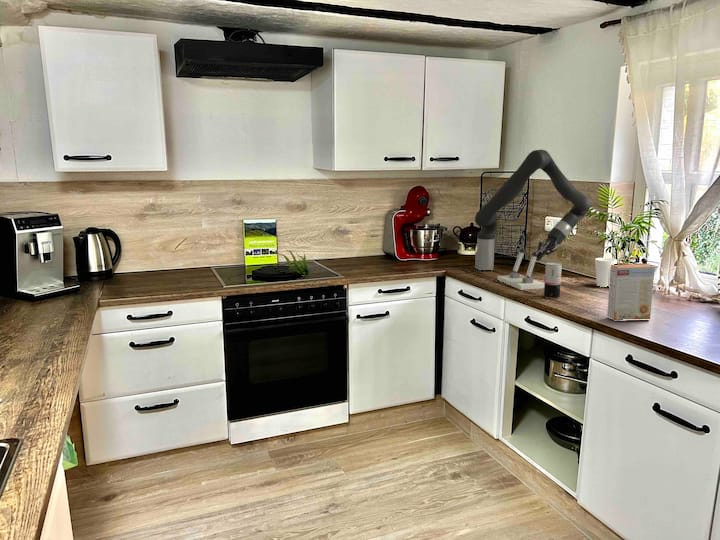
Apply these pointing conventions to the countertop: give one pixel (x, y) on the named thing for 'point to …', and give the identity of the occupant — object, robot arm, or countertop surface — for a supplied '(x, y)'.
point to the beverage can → (552, 280)
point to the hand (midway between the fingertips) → (536, 259)
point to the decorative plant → (297, 268)
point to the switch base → (521, 281)
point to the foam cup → (603, 270)
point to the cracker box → (630, 291)
